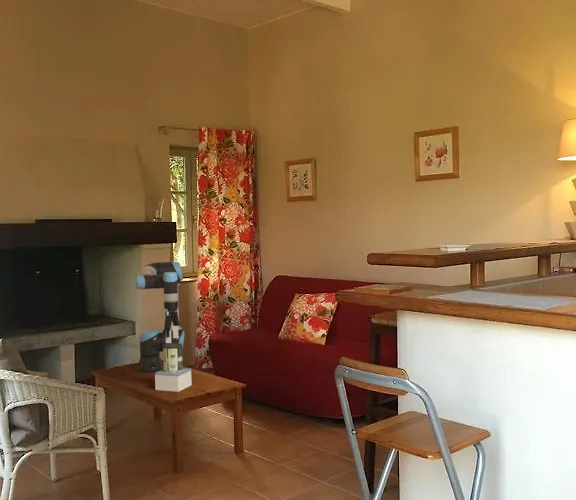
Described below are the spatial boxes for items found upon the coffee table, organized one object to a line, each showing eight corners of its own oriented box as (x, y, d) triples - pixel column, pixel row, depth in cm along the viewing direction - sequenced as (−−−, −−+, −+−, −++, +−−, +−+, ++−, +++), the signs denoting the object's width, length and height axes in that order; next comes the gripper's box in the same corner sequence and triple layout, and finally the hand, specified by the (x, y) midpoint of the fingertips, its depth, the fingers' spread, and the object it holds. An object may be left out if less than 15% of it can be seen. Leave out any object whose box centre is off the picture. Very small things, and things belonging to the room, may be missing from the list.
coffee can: (177, 367, 356) (177, 342, 355) (186, 371, 347) (185, 345, 347) (160, 370, 350) (159, 344, 349) (168, 374, 342) (167, 347, 341)
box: (169, 383, 358) (168, 369, 358) (191, 385, 353) (191, 370, 353) (155, 389, 345) (154, 374, 345) (178, 391, 340) (177, 376, 340)
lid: (169, 368, 358) (169, 367, 358) (191, 370, 353) (191, 368, 353) (155, 374, 345) (155, 372, 345) (178, 376, 340) (178, 374, 340)
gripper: (170, 298, 360) (171, 335, 361) (157, 304, 335) (158, 345, 336) (184, 297, 359) (185, 335, 360) (171, 304, 334) (172, 345, 335)
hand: (172, 340), depth 348 cm, fingers open, 13 cm apart
